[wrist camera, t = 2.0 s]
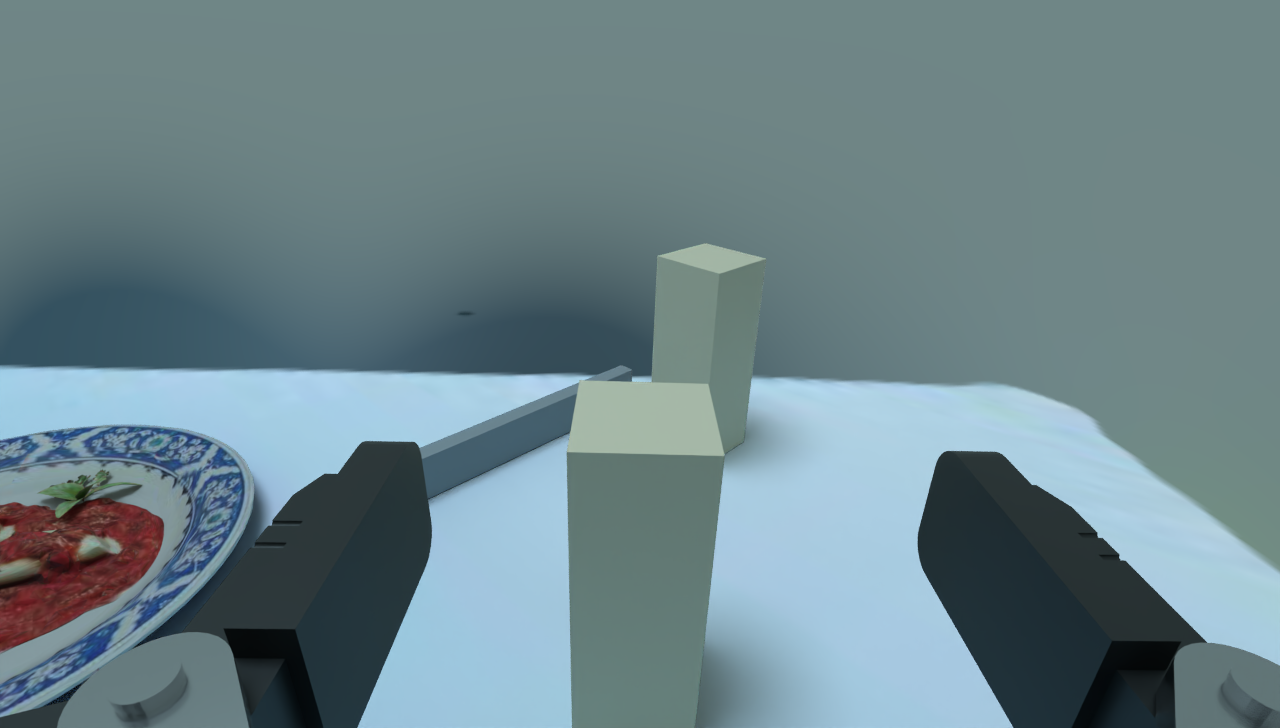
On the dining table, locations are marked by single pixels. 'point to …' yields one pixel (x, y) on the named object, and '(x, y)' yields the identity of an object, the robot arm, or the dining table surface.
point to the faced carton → (709, 328)
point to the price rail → (503, 437)
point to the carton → (640, 550)
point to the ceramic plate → (105, 545)
